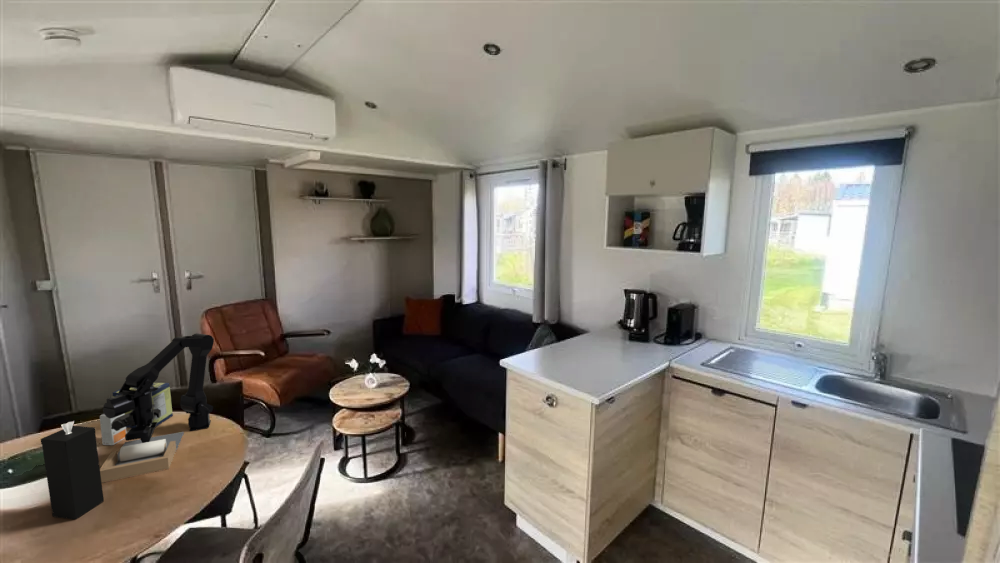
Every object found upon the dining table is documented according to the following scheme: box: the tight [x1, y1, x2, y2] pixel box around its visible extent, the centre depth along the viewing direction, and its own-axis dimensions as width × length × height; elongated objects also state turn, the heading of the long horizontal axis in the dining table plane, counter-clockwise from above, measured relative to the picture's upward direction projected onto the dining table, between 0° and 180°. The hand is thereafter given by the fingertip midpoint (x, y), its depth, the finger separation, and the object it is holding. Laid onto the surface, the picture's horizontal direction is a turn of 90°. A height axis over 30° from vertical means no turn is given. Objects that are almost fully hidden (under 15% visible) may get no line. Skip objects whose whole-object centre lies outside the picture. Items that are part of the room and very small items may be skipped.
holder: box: [100, 431, 185, 484], centre depth 149 cm, size 18×26×4 cm
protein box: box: [112, 382, 174, 429], centre depth 171 cm, size 10×16×16 cm
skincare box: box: [99, 413, 127, 446], centre depth 157 cm, size 6×4×12 cm
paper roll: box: [119, 439, 167, 461], centre depth 147 cm, size 12×5×5 cm, turn 119°
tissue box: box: [40, 420, 105, 520], centre depth 120 cm, size 8×8×28 cm
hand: (146, 445), depth 150 cm, fingers closed
